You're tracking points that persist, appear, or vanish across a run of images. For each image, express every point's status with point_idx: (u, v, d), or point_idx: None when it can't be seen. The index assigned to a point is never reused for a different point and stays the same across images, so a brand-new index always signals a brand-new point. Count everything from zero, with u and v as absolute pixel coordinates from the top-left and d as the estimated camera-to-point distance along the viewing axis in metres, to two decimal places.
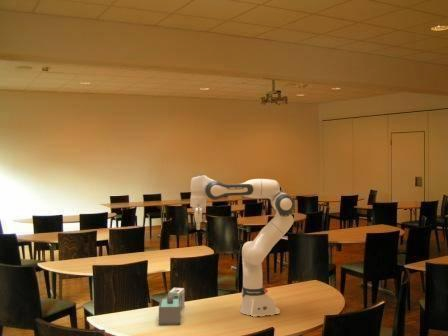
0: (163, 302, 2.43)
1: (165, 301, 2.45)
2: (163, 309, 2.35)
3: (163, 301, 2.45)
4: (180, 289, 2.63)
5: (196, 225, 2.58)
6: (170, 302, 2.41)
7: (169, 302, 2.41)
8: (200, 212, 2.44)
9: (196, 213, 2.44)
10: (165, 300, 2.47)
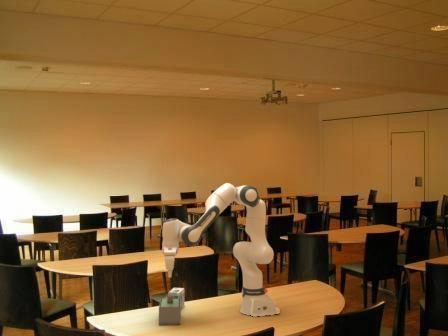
0: (163, 302, 2.43)
1: (165, 301, 2.45)
2: (163, 309, 2.35)
3: (163, 301, 2.45)
4: (180, 289, 2.63)
5: None
6: (170, 302, 2.41)
7: (169, 302, 2.41)
8: None
9: None
10: (165, 300, 2.47)
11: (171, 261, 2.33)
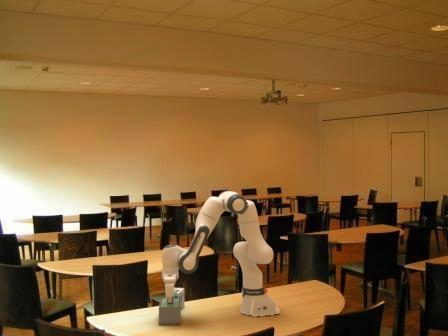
0: (163, 302, 2.43)
1: (165, 301, 2.45)
2: (163, 309, 2.35)
3: (163, 301, 2.45)
4: (180, 289, 2.63)
5: (171, 299, 2.41)
6: None
7: None
8: None
9: None
10: (165, 300, 2.47)
11: (170, 289, 2.33)
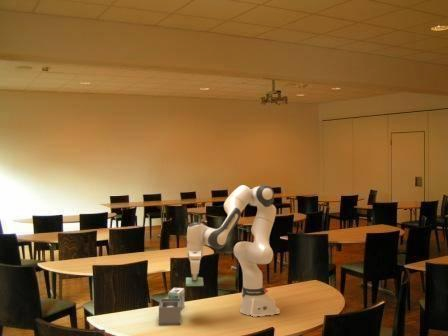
0: (187, 280, 2.44)
1: (189, 279, 2.46)
2: (163, 309, 2.35)
3: (187, 279, 2.46)
4: (180, 289, 2.63)
5: None
6: (195, 280, 2.42)
7: (194, 280, 2.42)
8: None
9: None
10: (189, 278, 2.48)
11: (196, 265, 2.34)
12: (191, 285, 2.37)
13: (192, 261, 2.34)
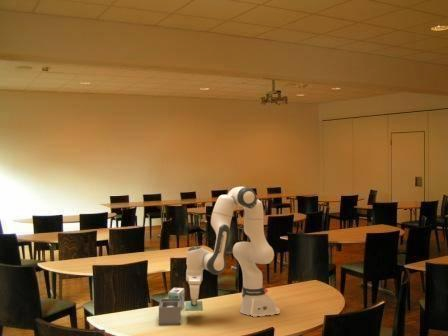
0: (187, 304, 2.44)
1: (189, 303, 2.46)
2: (163, 309, 2.35)
3: (186, 303, 2.46)
4: (180, 289, 2.63)
5: (195, 301, 2.42)
6: None
7: None
8: None
9: None
10: (188, 302, 2.48)
11: (195, 290, 2.34)
12: (190, 310, 2.37)
13: (191, 286, 2.34)
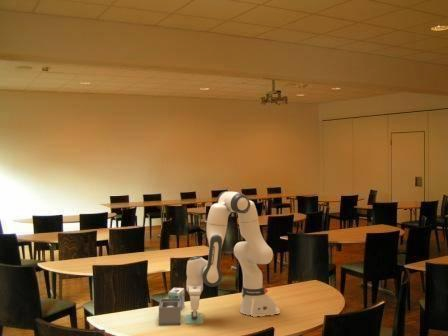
0: (187, 318, 2.44)
1: (189, 317, 2.46)
2: (163, 309, 2.35)
3: (187, 316, 2.46)
4: (180, 289, 2.63)
5: None
6: (194, 318, 2.42)
7: (193, 318, 2.42)
8: None
9: None
10: (189, 315, 2.48)
11: (196, 301, 2.34)
12: None
13: (192, 297, 2.34)
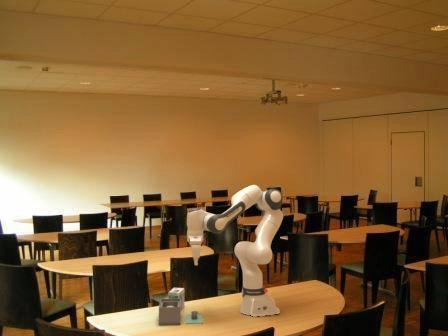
0: (187, 318, 2.44)
1: (189, 316, 2.46)
2: (163, 309, 2.35)
3: (187, 316, 2.46)
4: (180, 289, 2.63)
5: None
6: (194, 318, 2.42)
7: (193, 318, 2.42)
8: None
9: None
10: (189, 315, 2.48)
11: (197, 250, 2.40)
12: None
13: (193, 246, 2.41)
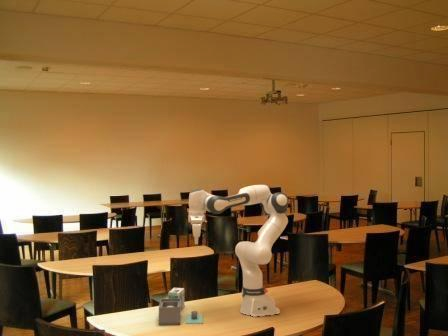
0: (187, 318, 2.44)
1: (189, 316, 2.46)
2: (163, 309, 2.35)
3: (187, 316, 2.46)
4: (180, 289, 2.63)
5: (197, 241, 2.52)
6: (194, 318, 2.42)
7: (193, 318, 2.42)
8: None
9: None
10: (189, 315, 2.48)
11: (197, 228, 2.46)
12: None
13: (194, 224, 2.47)
